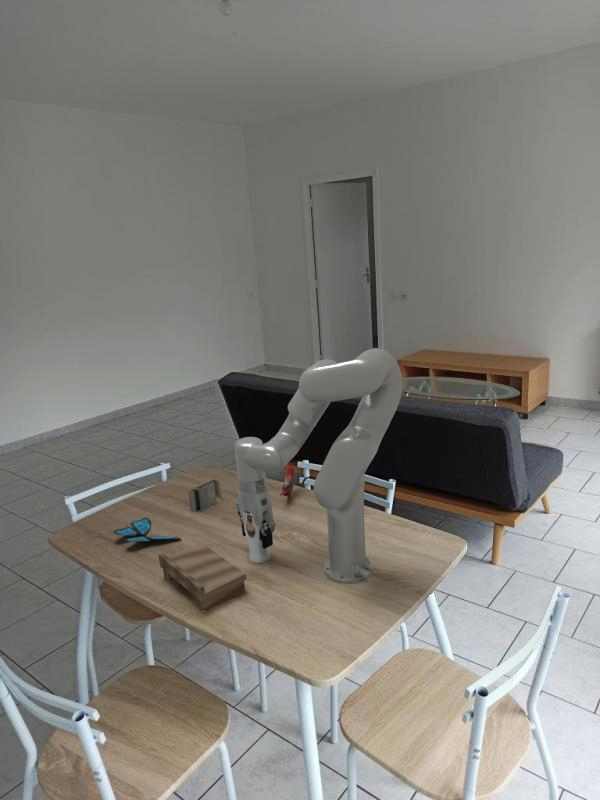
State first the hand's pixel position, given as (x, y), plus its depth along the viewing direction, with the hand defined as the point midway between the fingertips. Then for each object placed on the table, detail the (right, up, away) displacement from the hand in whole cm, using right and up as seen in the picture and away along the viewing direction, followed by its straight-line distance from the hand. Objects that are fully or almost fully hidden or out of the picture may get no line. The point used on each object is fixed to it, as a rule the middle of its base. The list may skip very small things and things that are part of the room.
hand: (257, 540), depth 161 cm
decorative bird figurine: (+8, +5, +36) cm, 37 cm away
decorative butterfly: (-36, -4, +17) cm, 40 cm away
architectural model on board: (-20, +3, +37) cm, 42 cm away
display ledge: (-13, -9, -9) cm, 19 cm away
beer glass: (0, -5, +2) cm, 6 cm away
